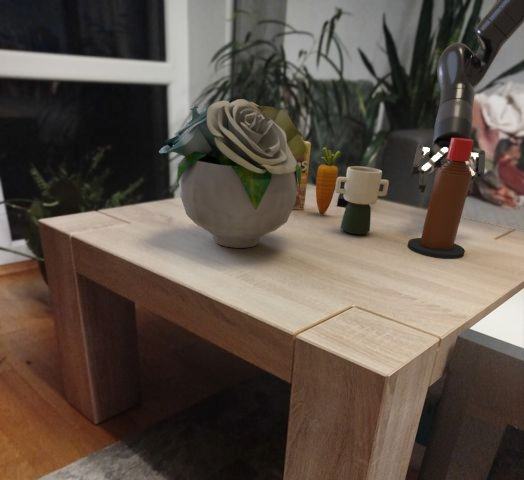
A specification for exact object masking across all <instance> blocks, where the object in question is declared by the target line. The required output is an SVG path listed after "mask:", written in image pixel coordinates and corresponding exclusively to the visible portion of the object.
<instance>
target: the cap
mask: <svg viewBox="0 0 524 480" xmlns="http://www.w3.org/2000/svg"><path fill="white" fill-rule="evenodd" d="M474 142H475V141H474V139H472V138H470V139H464V138H451V141H450V145H449V149H448V153H447V159H449V160H454V161H463V162H467V161H468V162H470V159H469V158H470V154H471V152H472V151H473V147H474Z"/></svg>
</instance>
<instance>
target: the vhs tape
mask: <svg viewBox="0 0 524 480" xmlns="http://www.w3.org/2000/svg"><path fill="white" fill-rule="evenodd" d="M341 189H344V187H341ZM343 195H344V194H339V193H338V197H337V203H336V204H337V205H336V206H337V207H343V208H346V206H347V204H348V203H349V202H348V201H346V200H345V199H344V196H343Z"/></svg>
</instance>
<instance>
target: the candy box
mask: <svg viewBox="0 0 524 480" xmlns="http://www.w3.org/2000/svg"><path fill="white" fill-rule="evenodd" d="M304 142H305V145H306V148H307V150H306V152H305V153H304V154H303V155H302V156H300V157H294V158H295V160H296V161H297V164H298V165H299V166H300V167H301V168H302V175H301V184H300V189H299V184H298V187H297V195H296V202H295V204H294V207H293V209H292V210H297V211H304V210H305V204H306V203H305V202H306V194H307V187H308V186H307V185H308V177H309V176H308V175H309V167H310V157H311V148H312V143H311V142H310V141H307V140H304ZM297 182H298V178H297Z"/></svg>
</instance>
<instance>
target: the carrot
mask: <svg viewBox="0 0 524 480" xmlns="http://www.w3.org/2000/svg"><path fill="white" fill-rule="evenodd" d="M321 150H322V153H323V156H322V157H321V160H322V161H323V164H320V165H319V166H318V168H317V171H316V181H315V199H316V206H317V209H318V212H319V214H320V216H324V215H325V214H326V212H327V211H328V209H329V207H330V205H331V203H332V200H333V196H334V194H335V187H336V180H337V178H338V174H339V168H338V166H336V165H334V163H335V162H336V160H337V159H338V157H339V156H340V155H341V154H342V153H341V151H340V150H337V151H336V153H335V154H334V153H332V151H331V150H330V149H327V147H326V146H325V147H323V148H322V149H321Z"/></svg>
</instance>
